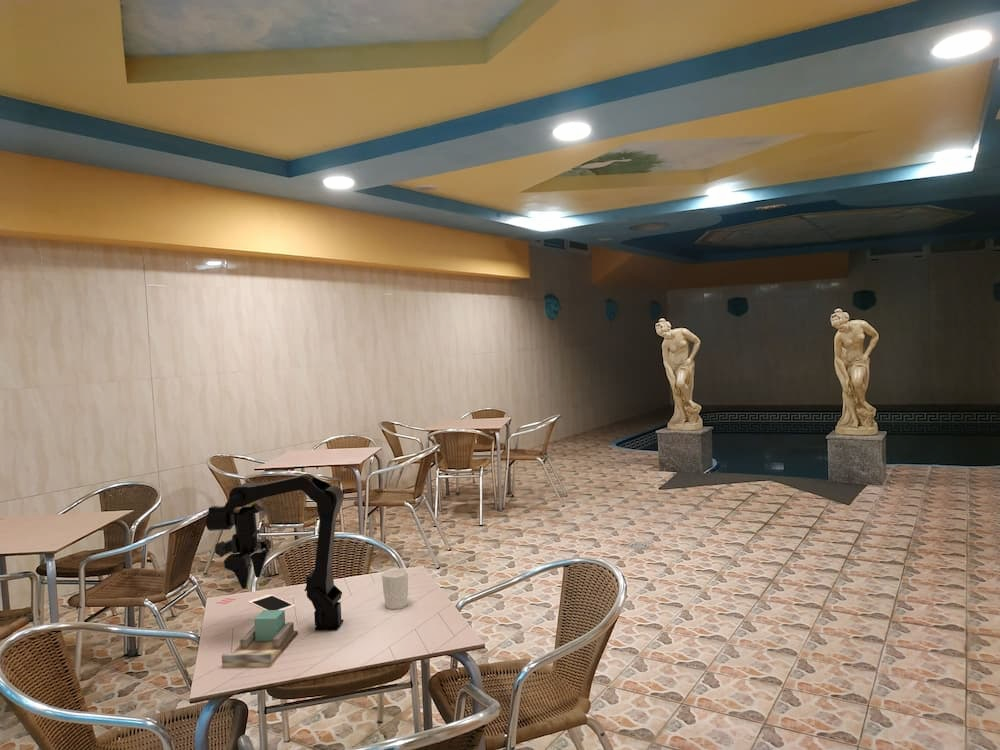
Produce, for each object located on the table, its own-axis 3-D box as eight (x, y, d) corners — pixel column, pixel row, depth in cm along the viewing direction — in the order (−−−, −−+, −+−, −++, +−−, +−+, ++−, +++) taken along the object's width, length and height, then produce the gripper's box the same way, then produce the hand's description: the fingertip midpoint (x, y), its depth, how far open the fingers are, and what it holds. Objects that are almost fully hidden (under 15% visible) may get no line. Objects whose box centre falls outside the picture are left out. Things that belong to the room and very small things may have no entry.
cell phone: (270, 595, 225) (270, 593, 225) (296, 607, 214) (296, 605, 214) (247, 603, 219) (247, 601, 219) (272, 615, 208) (272, 613, 208)
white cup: (415, 602, 212) (413, 570, 212) (397, 611, 205) (396, 578, 205) (395, 598, 216) (393, 567, 216) (377, 607, 210) (376, 574, 209)
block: (285, 631, 192) (284, 609, 192) (277, 640, 186) (276, 618, 186) (264, 631, 193) (263, 610, 192) (255, 641, 187) (254, 619, 186)
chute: (297, 634, 192) (297, 622, 192) (270, 666, 173) (269, 653, 173) (254, 634, 193) (253, 622, 193) (222, 667, 174) (221, 653, 174)
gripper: (233, 521, 207) (238, 573, 208) (202, 539, 189) (207, 596, 189) (269, 519, 206) (274, 571, 207) (242, 537, 188) (247, 594, 189)
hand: (251, 582), depth 198 cm, fingers open, 9 cm apart
